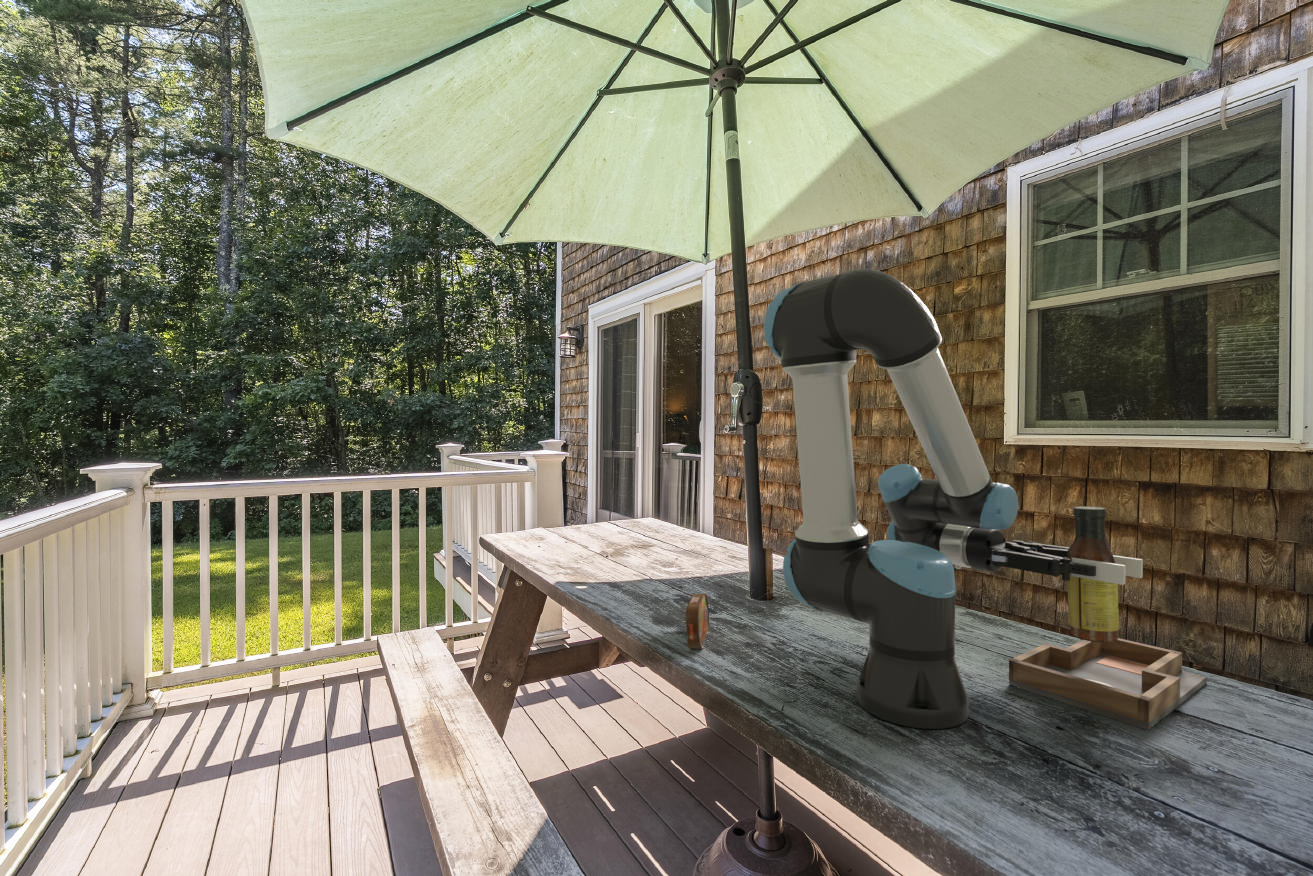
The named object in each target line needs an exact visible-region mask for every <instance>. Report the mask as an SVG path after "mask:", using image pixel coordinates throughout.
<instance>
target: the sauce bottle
mask: <svg viewBox="0 0 1313 876" xmlns="http://www.w3.org/2000/svg"><path fill="white" fill-rule="evenodd" d="M1073 516H1074V518H1075V519H1074V521H1075V532H1074V534H1075V537H1074V539H1073V542H1072V543H1071V545H1070V546H1069V547H1070V548H1069V549H1068V553H1067V554H1068V555H1067V556H1068V559H1070V562H1072V558H1080V559H1087V560H1093V561H1100V562H1107V563H1114V564H1116V562H1115V560H1114V557H1113V555H1114V554H1113V552H1112V549H1111V546H1110V544H1109V542H1108V539H1107V534H1106V521H1105V520H1106V518H1107V510H1106V508H1104V507H1098V506H1075V507H1073ZM1118 585H1119V584H1115V583H1109V582H1103V581H1098V580H1092V579H1086V578H1080V577H1074V576H1072V573H1070V580H1069V581H1067V602H1068V606H1067V607H1068V624H1069V626H1070V628H1069V630H1070V634H1071V635H1072V636H1073V637H1075V638H1078V639H1080V640H1081V641H1082V640H1087V641H1091V642H1099V643H1111V642H1115V641H1117V640H1118V638H1119V629H1120V614H1119V611H1120V610H1119V593H1118V592H1119V589H1118Z"/></svg>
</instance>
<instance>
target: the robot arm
mask: <svg viewBox="0 0 1313 876" xmlns="http://www.w3.org/2000/svg"><path fill="white" fill-rule="evenodd" d="M763 335H764V340H765V343H766V345H767V347H768V348H770V352H772V354H773V355H774V356H776V357H777V358H779V359H781V370H782V371H783V372H784V373H786V374H787V375H788V376H789V377H790V378H791V380H792V389H793V403H794V413H795V414H794V417H795V428H796V440H797V453H798V454H797V456H798V464H799V465H798V467H799V468H798V469H799V477H800V478H799V479H800V480H799V481H800V489H801V490H800V491H801V493H800V495H801V502H802V503H801V504H802V505H801V506H802V517H803V518H802V519H803V522H802V523H801V525H800V526H799V527H798V528H797V529H796V530H795V533H794V536H795V539H794V540H792V541H791V542H790V544H789V545H788V547H787V549H786V552H787V554H785V555H784V557H783V563H782V568H783V569H782V571H783V577H784V581H785V582H784V583H785V584H786V587H787V589H788V591H789V593H790V594H791V596H792V597H793V598H795V600H797V601H798V602H799V603H801V604H803V605H806V606H808V607H811V608H813V609H814V610H816V611H819V612H822V613H823V612H825V613H829V614H834V615H836V616H840V617H844V618H846V619H849V620H854V621H857V622H860V623H861V622H862V623H864V624H867V625H868V626H869V627H868V629H869V630H868V632H869V639H868V640H869V643H868V644H869V648H868V651H867V654H866V656H865V659H864V662H863V666H862V667H861V671H860V674H859V677H858V680H857V685H856V687H857V689H856V690H857V691H856V692H857V693H856V694H857V703H859V705H860V706H861V707H862V708H863V709H864V710H865V711H867V712H868V713H870V714H871V715H873V716H875V717H877V718H879V719H881V720H884V721H886V722H890V723H893V724H896V725H900V726H903V727H909V728H915V729H916V728H917V729H925V730H927V729H928V730H939V729H943V730H944V729H950V728H955V727H957V726H960V725H961V724H963V723H965V722H966V721H967V719H968V718H969V697H968V693H967V691H966V689H965V685H964V682H963V679H962V675H961V673H960V671H959V667H958V664H957V661H956V656H955V655H956V653H955V651H956V650H955V649H956V647H955V643H956V641H955V640H956V593H957V585H956V578H955V569H956V570H961V569H962V567H963V568H967V569H968V568H969V569H973V570H977V571H983V572H989V573H996V572H998V571H999V570H1001V568H1002V567H1003V568H1009V569H1015V570H1021V571H1026V572H1031V573H1036V574H1041V575H1047V576H1052V577H1055V578H1058V577H1061V580H1062V581H1066V582H1068V581H1069V580H1070V573H1072V576H1074V577H1080V578H1086V579H1092V580H1098V581H1103V582H1109V583H1115V584H1118V585H1121V586H1124V585H1126V576H1127V577H1131V578H1138V579H1143V577H1144V576H1143V572H1144V571H1143V569H1144V567H1143V566H1144V564H1143V563H1144V559H1142V558H1136V557H1129V556H1128V557H1127V556H1121V555H1114V554H1112V555H1113V557H1114V560H1115V562H1116V564H1114V563H1107V562H1100V561H1093V560H1087V559H1080V558H1072V562H1070V559H1068V556H1067V555H1068V554H1067V553H1068V549H1069V548H1070V546H1069V547H1068V546H1062V545H1061V546H1060V545H1052V544H1044V543H1039V542H1035V541H1030V540H1029V541H1026V542H1025V541H1024V540H1015V539H1013V540H1011V541H1007V540H1006V538H1005V535H1004V533H1003V532H1002V531H1001V530H1007V529H1009V528H1010V527H1012V525H1013V524H1014V522H1015V520H1016V518H1017V516H1018V513H1019V512H1018V511H1019V500H1018V495H1017V493H1016V490H1015V489H1014V488H1013V487H1011V485H1009V484H1006V483H1000V482H993V479H992V477H991V475H990V472H989V471H988V468H987V466H986V463H985V461H984V458H983V455H982V453H981V451H980V449H979V445H978V444H977V441H976V439H975V437H974V436H975V435H974V433H973V431H972V428H971V426H970V424H969V422H968V418H967V416H966V414H965V411H964V410H963V407H962V405H961V401H960V399H959V396H958V394H957V392H956V390H955V387H954V385H953V383H952V379H951V377H950V375H949V373H948V369H947V367H946V365H945V362H944V360H943V357H942V356H941V352H940V350H939V347H940V346H941V344H942V341H943V338H942V334H941V333H940V330H939V327H938V325H937V323H936V320H935V318H934V316H933V315H932V313H931V312H930V310H929V309H928V307H927V306H926V305H925V304H924V302H923V301H922V299H920V297H919V296H918V295H917V294H916V293H915V292H914V291H913V290H912V289H910V287H908V286H907V285H905V283H903V282H902V281H901V280H899V279H898V278H895V277H894V276H892V275H891V274H888V273H885V272H883V271H881V270H877V269H870V268H857V269H852V270H851V269H850V270H849V271H848V270H847V271H846V272H844V273H839V274H834V275H830V276H826V277H821V278H817V279H812V280H808V281H804V282H799V283H798V284H795V285H793V286H790V287H787V288H784V289H783V290H781V291H779V292H778V293H777V294H776V295H775V296H774V297H773V300H772V301H771V302H770V303H769V304H768V307H767V308H766V312H765V315H764V321H763ZM861 349H863V350H865V351H868V352H869V353H870V354H871V356H872V358H873V360H874V362H875V364H876V366H877V367H878V368H881V369H885V370H887V371H886V372H887V374H888V375H889V378H890V380H891V381H892V384H893V386H894V388H895V390H896V393H897V394H898V397H899V399H900V402H901V404H902V406H903V408H904V410H905V412H906V414H907V416H908V418H909V421H910V423H911V425H912V427H913V429H914V432H915V434H916V436H917V438H918V441H919V443H920V444H921V447H922V448H923V451H924V453H925V455H926V458H927V460H928V462H929V464H930V467H931V469H932V471H933V473H934V475H935V477H936V479H931V478H923V476H922V474H921V472H919V469H918V468H917V466H916V467H915V466H914V465H911V464H908V463H904V464H902V463H901V464H896V465H893V466H892V467H891V466H890V467H889V468H887V469H886V470H884V471H883V472H882V473H881V474H880V476H879V477H878V480H877V485H878V489H879V491H880V494H881V498H882V501H883V503H884V505H885V507H886V509H887V511H888V513H889V516H890V518H891V522H890V523H889V524H888V527H887V530H886V531H887V532H886V536H887V539H881V540H875V541H873V542H871V544H870V540H869V530H868V528H867V527H866V526H864V525H863V524H862V523H861V522H860V521H859V519H858V509H857V508H858V507H857V493H856V492H857V491H856V479H855V466H854V452H853V438H852V424H851V421H852V420H851V410H850V396H849V382H848V381H849V380H848V374H849V372H850V371H851V369H852V368H853V367H854V366H855V365H856V363H857V354H856V353H857V352H856V350H861ZM954 567H955V568H954Z"/></svg>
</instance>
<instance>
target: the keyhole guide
mask: <svg viewBox="0 0 1313 876" xmlns="http://www.w3.org/2000/svg"><path fill="white" fill-rule="evenodd" d="M1207 678H1208V677H1207V676H1204V675H1199V674H1195V673H1192V672H1187V671H1183V652H1181V651H1176V650H1172V649H1167V648H1163V647H1159V646H1156V645H1155V646H1154V645H1150V644H1147V643H1146V644H1145V643H1141V642H1137V641H1132V640H1130V639H1129V640H1128V639H1124V638H1119V637H1118V640H1117V641H1115V642H1111V643H1099V642H1091V641H1087V640H1082V639H1081V641H1078V642H1076V643H1074V644H1073V645H1070V646H1068V647H1066V648H1064V647H1061V646H1057V645H1053V644H1049V643H1043V644H1041V645H1040V646H1037V647H1035V648H1033V649H1030V650H1029V651H1026V652H1024V653H1021V654H1019V655H1016V656H1015V657H1013V658H1011V659H1009V660H1008V685H1009V684H1010V685H1013V686H1016V687H1019V688H1020V690H1022V689H1024V690H1023V691H1025V690H1027V691H1026V692H1028V691H1030V692H1029V693H1032V692H1033V693H1032V694H1035V693H1037V694H1036V695H1038V694H1039V695H1038V696H1041V695H1042V696H1041V697H1044V696H1046V697H1045V698H1047V697H1049V698H1048V699H1050V698H1052V699H1051V700H1053V699H1054V701H1056V700H1057V702H1059V703H1063V702H1064V703H1063V704H1066V705H1070V706H1073V707H1076V708H1079V709H1081V710H1085V711H1088V712H1090V713H1094V714H1096V715H1100V716H1103V717H1106V718H1110V719H1113V720H1115V719H1116V721H1119V722H1123V723H1125V724H1128V725H1131V726H1135V727H1138V728H1141V729H1144V730H1148V731H1150V730H1151V729H1152V728H1153V727H1155V726H1156V725H1157V724H1158V723H1159V722H1161V721H1162V720H1163V719H1164V718H1166V717H1167V716H1168V715H1170V713H1172V712H1173V711H1174V710H1175V709H1177V708H1178V707H1179V706H1181V705H1182V704H1183V703H1185V702H1186V700H1188V699H1189V698H1191V696H1193V695H1194V694H1195V693H1197V692H1198V691H1199V690H1200V689H1201V688H1203V687H1204V686H1205V685H1207ZM1010 685H1009V686H1010ZM1013 686H1012V687H1013ZM1016 687H1015V688H1016ZM1019 688H1018V689H1019ZM1165 716H1166V717H1165ZM1162 718H1163V719H1162ZM1161 719H1162V720H1161ZM1160 720H1161V721H1160ZM1155 724H1156V725H1155ZM1154 725H1155V726H1154ZM1151 727H1152V728H1151ZM1149 729H1150V730H1149Z"/></svg>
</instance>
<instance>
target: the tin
mask: <svg viewBox="0 0 1313 876" xmlns="http://www.w3.org/2000/svg"><path fill="white" fill-rule="evenodd" d="M709 611H710V610H709V600H708V596H707V593H706V592H704V593H694V594H693V595H692V596H691V597H690V599H689V602H688V604H687V606H686V608H685V625H686V635H687V636H686V637H687V638H686V639H687V640H686V643H687V647H688V648H689V649H690V650H704V648H702V645H703V642H704V639H705V637H706V636H705V635H706V633H707V632H708V631H709V630H710V612H709ZM709 632H710V631H709Z"/></svg>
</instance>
